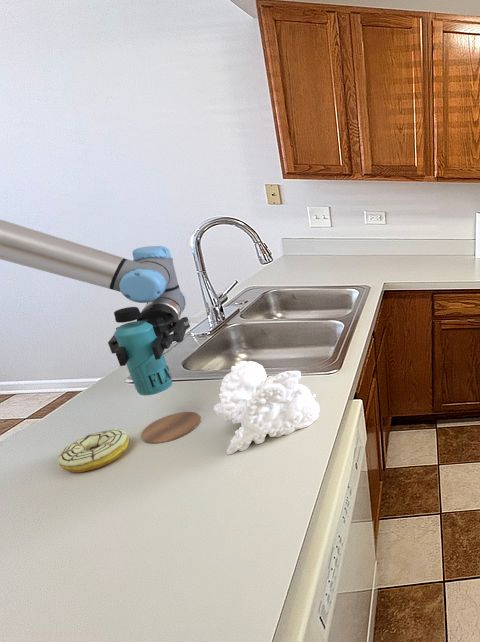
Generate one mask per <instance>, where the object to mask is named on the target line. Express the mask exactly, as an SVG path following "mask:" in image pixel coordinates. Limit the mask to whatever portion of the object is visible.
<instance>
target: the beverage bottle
mask: <svg viewBox="0 0 480 642" xmlns="http://www.w3.org/2000/svg"><path fill="white" fill-rule="evenodd" d="M113 314H114V319H115V320H114V321H115V322H116V323H117V324H118V323H119V324H120V323H121V325H120V326H118V327H119V328H118V329H117V330H116V329H115V331H114V333H113V335H114V336H115V337H116V340H117V342H118V344H119V347H125V349H126V352H127V355H128V357H129V360H128V362H127V363H126V367H127V370H128V374H129V375H130V378H131V381H132V384H133V387H134V389H135V390H136V392H137V393H138V394H139V395H140V396H152V395H156V394H160V393H162V392H164V391H167V390H168V389H169V388H171V386H173V378H172V374H171V372H170V368H169V366H168V364H167V361H166V357H165V356H164V353H163V354H162V356H161V358H160V359H157V360H156V359H155V356H154V353H153V350H152V346H153V344H154V342H155V340H156V338H157V337H156V335H155V332H154V330H153V326H152V325H151V324H149V323H147V322H144V321H137V319H139V318H141V317H142V314H141V310H140V309H139V307H137V306H126V307H123V308H120V309H119V308H118V309H117V310H115V311H113Z"/></svg>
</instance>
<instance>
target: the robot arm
mask: <svg viewBox="0 0 480 642" xmlns="http://www.w3.org/2000/svg"><path fill="white" fill-rule="evenodd" d="M170 251H171V250H170V249H169V248H168V247H167V246H163V245H149V246H148V245H147V246H142V247H137V248H135V249H133V250H132V258H133V260H132V259H128V258H124V257H122V256H119V255H116V254H113V253H110V252H108V251H107V252H106V251H103V250H100V249H97V248H93V247H91V246H87V245H84V244H81V243H77V242H74V241H71V240H69V239H65V238H61V237H60V236H59V237H58V236H55V235H52V234H49V233H46V232H43V231H39V230H36V229H33V228H30V227H27V226H24V225H20V224H17V223H14V222H12V221H11V222H10V221H7V220H4V219H1V218H0V260H1V261H4V262H9V263H13V264H16V265H19V266H23V267H27V268H31V269H34V270H39V271H42V272H45V273H49V274H52V275H57V276H60V277H64V278H68V279H71V280H75V281H78V282H83V283H87V284H90V285H94V286H96V287H97V286H98V287H101V288H105V289H108V290H113V291H115V292H120V293H121V294H122V296H124V298H126V299H127V300H129V301H131V302H134V303H139V304H145V306H144V307H143V309H142V310H141V311H140V313H141V314H142V317H141V318H139V319H137V320H136V321H144V322H147V323H149V324H151V325H152V326H153V330H154V332H155V335H156V337H157V338H156V340H155V342H154V344H153V346H152V350H153V353H154V356H155V359H156V360H157V359H160V358H161V356H162V354H163V355H164V351H165V350H167V349H169V348H171V345H173V342H175V343H182V342H183V341H184V338H185V335H186V333H187V330H188V329H190V328H191V324H190V320H189V317H187V316H184V317H181V315H182V313H183V312H184V310H185V308H186V296H185V294H184V293H183V292H182V291H181V288H180V284H179V282H178V277H177V274H176V270H175V266H174V262H173V260H174V259H173V257H172V254H171V252H170ZM119 327H120V326H117V327H116V328H115V331H116V330H117V329H118V328H119ZM107 344H108V347H109V349H110V353H111V354H112V355H113V354H115V356H116V359H117V361H118V364H119V366H120V367H124V366H127V364H126V363H127V362H128V360H129V357H128V355H127V352H126V349H125V347H119V344H118V342H117V340H116V337H115V336H114V334H113V335H112V336H111V338H110V339H109V340H108V341H107Z"/></svg>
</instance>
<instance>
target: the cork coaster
mask: <svg viewBox="0 0 480 642" xmlns="http://www.w3.org/2000/svg"><path fill="white" fill-rule="evenodd" d="M201 421H202V418H201V415H200V414H199V413H198V412H194V411H182V412H181V411H180V412H175V413H172V414H169V415H166V416H163V417H161V418H159V419H156V420H155V421H152V423H149V425H147V426H146V427H145V428H144V429H143V430H142V432H141V435H140V438H141V440H142V441H143V442H144V443H146V444H151V445H153V444H154V445H155V444H163V443H168V442H172V441H175V440H177V439H180V438H183V437H184V436H187V435H188V434H190V433H191V432H193V431H194V430H195V429H197V428H198V427H199V425H200V424H201Z"/></svg>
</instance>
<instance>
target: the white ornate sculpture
mask: <svg viewBox="0 0 480 642" xmlns="http://www.w3.org/2000/svg"><path fill="white" fill-rule="evenodd" d="M267 375H268V374H267V372H266V370H265V368H264V366H263V365H262V364H260V363H258V362H257V361H254V360H253V361H252V360H240V361H239V362H235V364H234V365H231V367H230V372H228V373H227V374H226V375H224V377H223V379H222V380H221V382H220V387H219V394H217V396H218V399H219V402H218V403H216V404H214V405H213V407H212V408H213V412H215V413H216V415H217V416H219V417H221V418H223V420H224V421H226V422H231V423H232V424H239V423H240V425H241V426H240V427H239V428H238V429H236V430H235V431H234V434H235V435H234V436H233V437H232V438H231V439H230V441H229V445H228V448H227V449H226V455H228V456H229V455H232V454H233V455H234V454H235V453H236V452H237V451H240V452H243V451H245V450H247V449H249V447H250V445H251V444H252V442H254V444H257V445H260V444H262V443H264V442H265V440H266V436H267V435H268V436H269V437H270V438H273V437H274V438H280V437H282V436H283V435H285V436H288V435H290V434H292V433H294V432H295V431H298V430H299V429H301V430H302V429H305V428H307V427H309V426H311V425H312V424H313V423H315V421H317V420H318V419H319V416H320V412H321V407H320V404H319V402H317V401H316V397H317V395H316V393H314V394H312V393H311V389H309V388H308V386H306V385H304V384H302V383H299V382H300V380H301V378H302V373H301V371H300V370H285V371H282V372H279V373H277V374H276V375H271V376H267Z"/></svg>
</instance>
